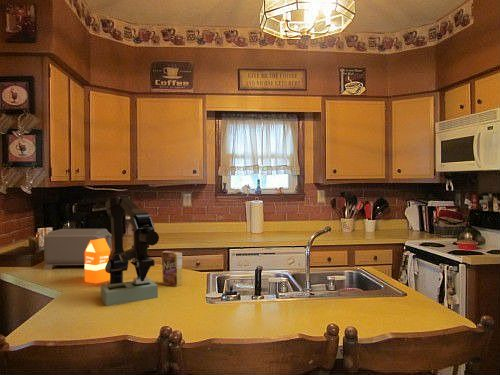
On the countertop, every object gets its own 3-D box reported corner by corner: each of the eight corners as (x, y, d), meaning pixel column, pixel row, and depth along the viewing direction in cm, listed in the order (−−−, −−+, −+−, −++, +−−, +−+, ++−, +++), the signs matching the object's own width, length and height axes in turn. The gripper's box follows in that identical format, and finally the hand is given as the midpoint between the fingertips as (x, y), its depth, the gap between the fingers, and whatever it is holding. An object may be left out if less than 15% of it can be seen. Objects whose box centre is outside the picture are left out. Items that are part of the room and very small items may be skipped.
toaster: (106, 269, 207) (106, 232, 207) (42, 269, 207) (41, 232, 206) (117, 262, 227) (117, 228, 226) (59, 262, 226) (58, 228, 226)
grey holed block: (100, 297, 155) (100, 285, 154) (149, 290, 165) (149, 279, 165) (106, 306, 144) (106, 292, 144) (157, 297, 155) (157, 285, 155)
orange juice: (84, 281, 181) (84, 239, 181) (99, 277, 189) (99, 237, 189) (95, 283, 177) (95, 241, 177) (110, 279, 185) (110, 238, 185)
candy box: (161, 284, 175) (161, 251, 175) (168, 282, 179) (167, 250, 179) (176, 287, 171) (176, 253, 170) (182, 284, 174) (182, 251, 174)
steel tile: (133, 282, 157) (133, 277, 157) (145, 280, 160) (145, 275, 160) (136, 284, 154) (136, 279, 154) (148, 282, 157) (148, 277, 157)
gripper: (115, 241, 161) (115, 277, 161) (126, 247, 145) (126, 288, 145) (141, 239, 167) (142, 274, 167) (154, 245, 151) (155, 284, 151)
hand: (140, 280), depth 157 cm, fingers closed on steel tile, 4 cm apart
